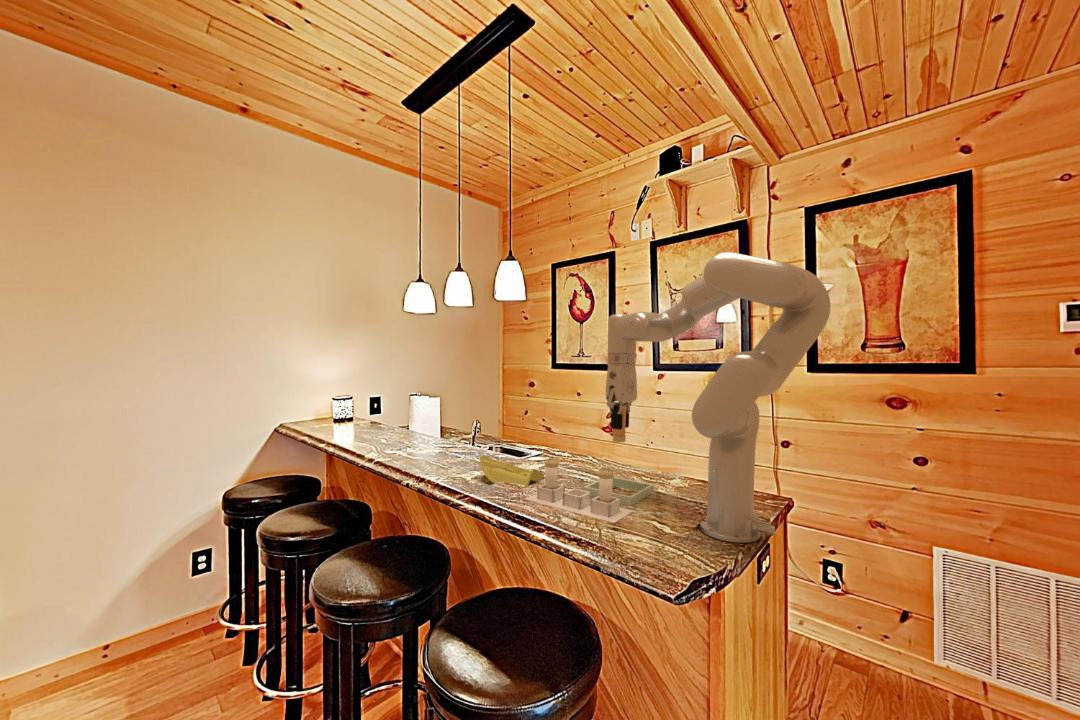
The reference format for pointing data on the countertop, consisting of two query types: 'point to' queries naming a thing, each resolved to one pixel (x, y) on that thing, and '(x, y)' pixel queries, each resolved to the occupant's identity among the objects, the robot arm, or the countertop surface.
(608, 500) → the cylinder
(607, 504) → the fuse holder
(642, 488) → the tray
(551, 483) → the cylinder
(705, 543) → the countertop surface
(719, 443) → the robot arm
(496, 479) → the plastic component
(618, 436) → the cylinder
